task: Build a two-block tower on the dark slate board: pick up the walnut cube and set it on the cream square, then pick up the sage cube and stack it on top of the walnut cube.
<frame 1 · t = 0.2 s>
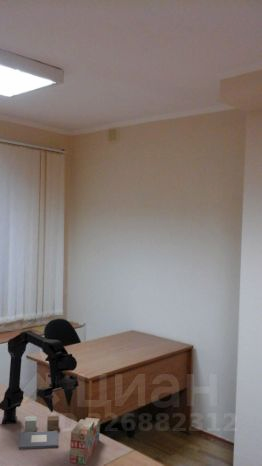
hand: (60, 408, 183), 15 cm above the table, tool pointing down, fingers open, 9 cm apart
stack of blocks: (85, 451, 179), on the table
walnut block: (52, 428, 198), on the table
sage block: (30, 429, 196), on the table
blueprint board: (38, 440, 185), on the table
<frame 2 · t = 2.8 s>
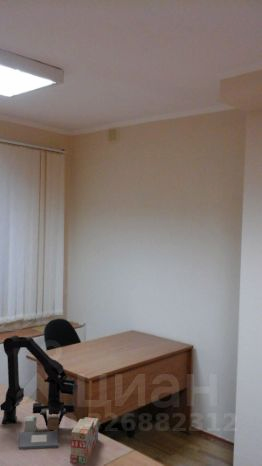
hand: (52, 426, 198), 1 cm above the table, tool pointing down, fingers closed on walnut block, 5 cm apart
walnut block: (52, 428, 198), on the table, touching gripper
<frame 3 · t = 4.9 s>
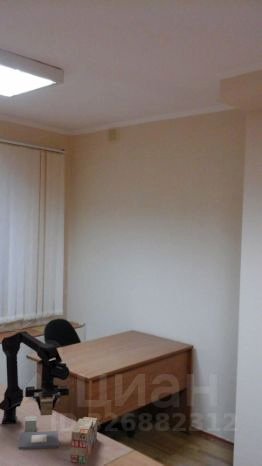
hand: (46, 410, 190), 11 cm above the table, tool pointing down, fingers closed on walnut block, 5 cm apart
walnut block: (46, 412, 190), point 10 cm above the table, touching gripper
when the fingers open (3 cm above the table, at t = 7.0 s): walnut block drops 1 cm, resting on blueprint board.
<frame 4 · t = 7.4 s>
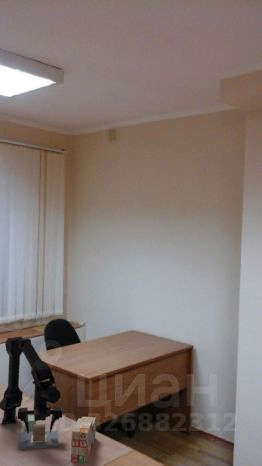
hand: (39, 432, 185), 3 cm above the table, tool pointing down, fingers open, 9 cm apart
walnut block: (38, 438, 185), point 1 cm above the table, touching blueprint board
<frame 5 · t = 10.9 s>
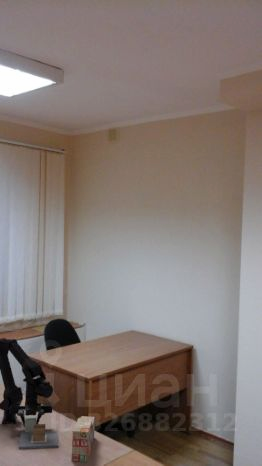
hand: (30, 427, 196), 1 cm above the table, tool pointing down, fingers closed on sage block, 5 cm apart
sage block: (30, 429, 196), on the table, touching gripper
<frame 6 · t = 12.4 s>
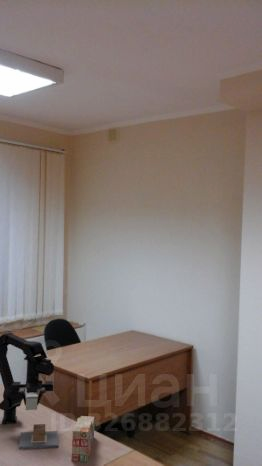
hand: (31, 405, 196), 11 cm above the table, tool pointing down, fingers closed on sage block, 5 cm apart
sage block: (31, 407, 196), point 10 cm above the table, touching gripper
when the fingers open (8 cm above the table, at t = 14.2 s): sage block drops 1 cm, resting on walnut block.
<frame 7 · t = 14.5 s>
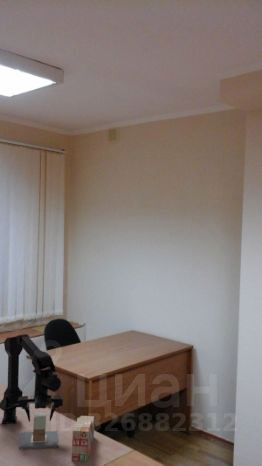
hand: (39, 421, 185), 8 cm above the table, tool pointing down, fingers open, 8 cm apart
walnut block: (38, 438, 185), point 1 cm above the table, touching blueprint board, sage block
sage block: (39, 426, 185), point 6 cm above the table, touching walnut block
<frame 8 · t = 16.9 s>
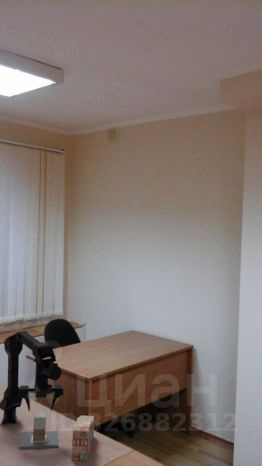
hand: (40, 410, 185), 13 cm above the table, tool pointing down, fingers open, 9 cm apart
at the end: walnut block 0.1 cm off-centre on the blueprint board, point 1.0 cm above the blueprint board's base; sage block 0.0 cm off-centre on the blueprint board, point 6.0 cm above the blueprint board's base; sage block tilted 0° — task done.
